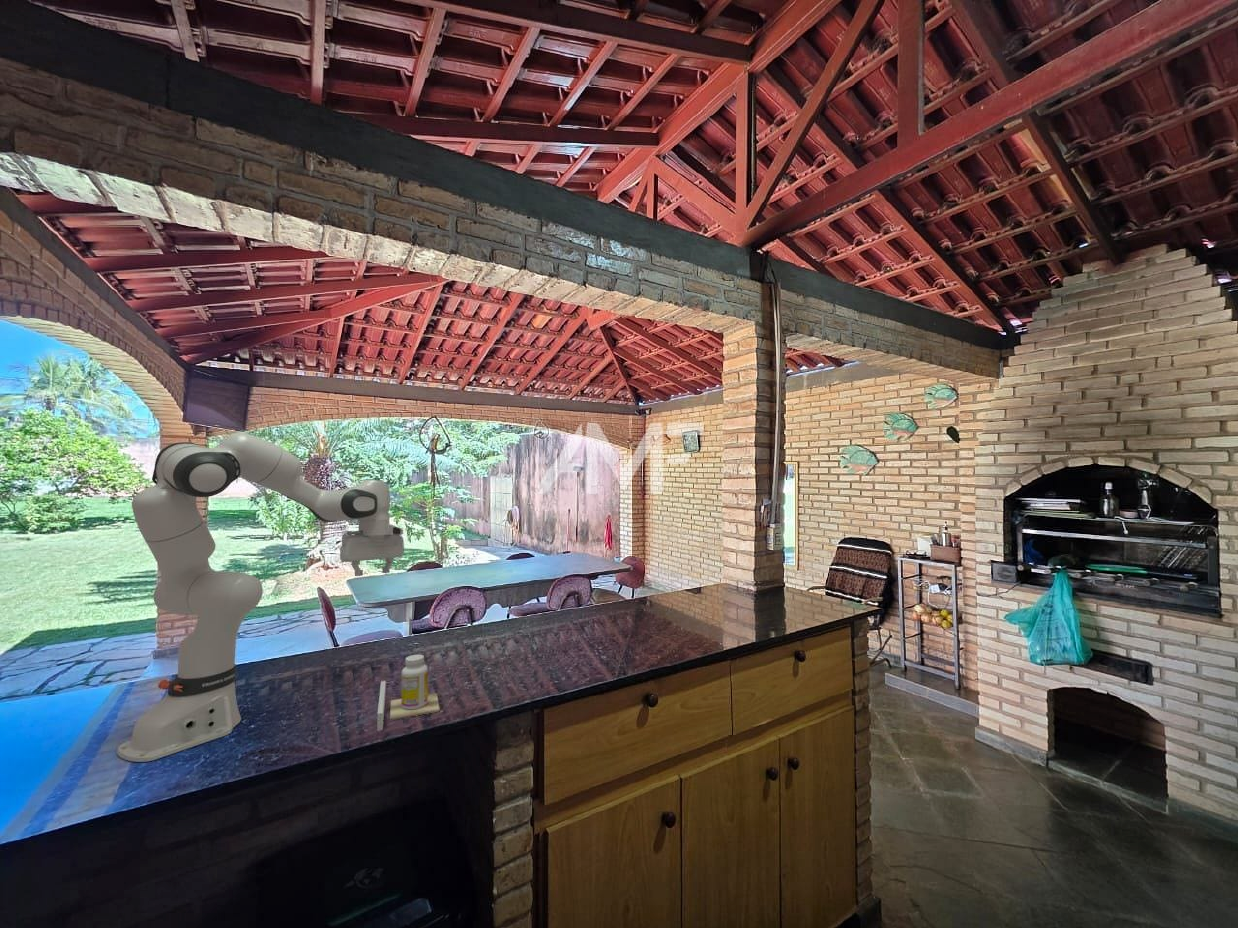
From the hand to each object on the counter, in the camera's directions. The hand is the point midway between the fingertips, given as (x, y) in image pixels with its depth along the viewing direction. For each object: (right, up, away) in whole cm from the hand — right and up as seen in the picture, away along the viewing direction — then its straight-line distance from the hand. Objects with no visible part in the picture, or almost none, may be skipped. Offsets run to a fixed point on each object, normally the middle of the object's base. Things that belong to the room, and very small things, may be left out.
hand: (372, 574), depth 154 cm
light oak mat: (+22, -32, -21) cm, 44 cm away
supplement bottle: (+22, -31, -21) cm, 44 cm away
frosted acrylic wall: (+15, -32, -24) cm, 43 cm away
